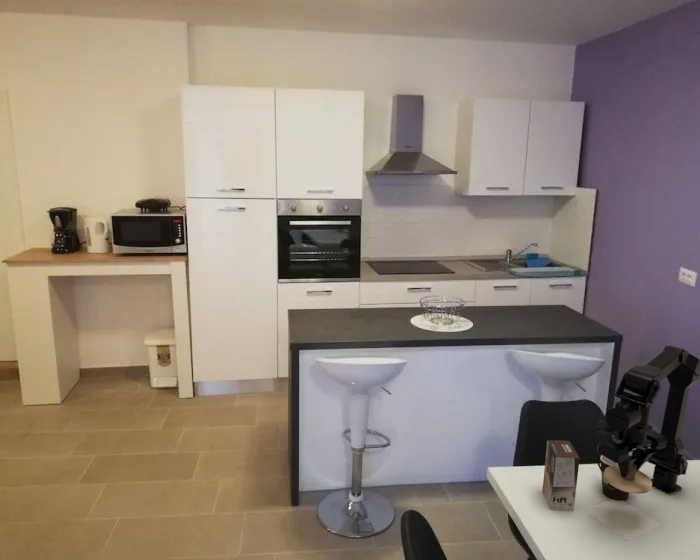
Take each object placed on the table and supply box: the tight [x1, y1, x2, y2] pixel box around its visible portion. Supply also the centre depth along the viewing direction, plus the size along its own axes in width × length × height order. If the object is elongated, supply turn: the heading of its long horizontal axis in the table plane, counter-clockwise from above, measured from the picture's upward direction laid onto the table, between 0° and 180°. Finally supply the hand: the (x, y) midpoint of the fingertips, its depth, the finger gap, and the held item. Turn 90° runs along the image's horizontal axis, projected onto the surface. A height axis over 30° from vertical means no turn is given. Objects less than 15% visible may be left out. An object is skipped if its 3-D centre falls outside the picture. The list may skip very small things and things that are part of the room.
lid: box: [604, 463, 652, 495], centre depth 138 cm, size 11×11×4 cm
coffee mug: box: [596, 454, 630, 502], centre depth 152 cm, size 12×9×10 cm
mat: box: [584, 499, 663, 541], centre depth 141 cm, size 13×13×1 cm
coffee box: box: [542, 439, 581, 512], centre depth 146 cm, size 9×6×16 cm
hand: (628, 475), depth 138 cm, fingers closed on lid, 3 cm apart
